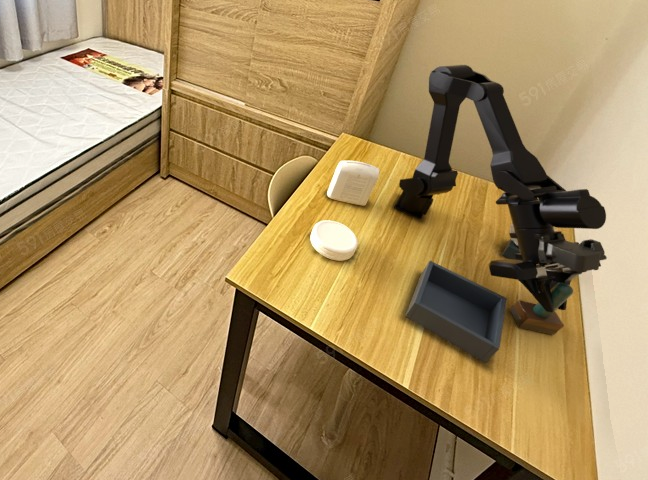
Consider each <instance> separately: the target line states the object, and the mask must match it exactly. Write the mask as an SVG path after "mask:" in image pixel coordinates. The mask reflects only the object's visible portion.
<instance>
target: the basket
mask: <svg viewBox="0 0 648 480" xmlns="http://www.w3.org/2000/svg"><path fill="white" fill-rule="evenodd" d="M507 300H508V298H507V297H506V296H504V295H501V294H499V293H497V292H495V291H494V290H492V289H489V288H488V287H485V286H483V285H481V284H479V283H477V282H475V281H473V280H471V279H469V278H467V277H465V276H463V275H460V274H458V273H457V272H454V271H452V270H450V269H449V268H446V267H444V266H442V265H440V264H438V263H436V262H434V261H432V260H429V261H428V263H427V264H426V265H425V267H424V269H423V270H422V272H421V273H420V276H419V278H418V281H417V283H416V287H415V289H414V291H413V295H412V297H411V299H410V303H409V306H408V307H407V310H406V313H405V316H404V317H405V318H407V319H409V320H411V321H412V322H414V323H415V324H417V325H419V326H421V327H422V328H424V329H425V330H428V331H429V332H431V333H433V334H434V335H436V336H438V337H440V338H441V339H443V340H445V341H447V342H448V343H450V344H451V345H454V346H456V347H457V348H459V349H460V350H463V351H464V352H466V353H468V354H469V355H471V356H473V357H474V358H476V359H478V360H480V361H481V362H483V363H485V364H486V363H487V362H489V360H490V359H491V358H492V357H493V356H494V355H495V354H496V353H497V352H498V351H499V350H500V347H501V346H500V345H501V341H502V334H503V327H504V319H505V314H506V306H507Z"/></svg>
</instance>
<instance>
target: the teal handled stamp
mask: <svg viewBox="0 0 648 480" xmlns="http://www.w3.org/2000/svg"><path fill="white" fill-rule="evenodd" d="M573 294H574V288H573V287H572V285H571V284H570V285H568V284H566V283H557V284H556V285H555V286H554V287H553V288H552V289H551V296H552V301H553V308H554V312H547V311H546V310H545V309H544V308H543V307H542V306H541V305H540V303H539V302H538V301H537V303H534V302H528V301H524V300H519V299H518V300H516V301H515V303H514V304H513V305H512V306H511V308H509V311H510V313H511V315H512V318H513V319H514V321H515V323H516V325H517V327H518V328H520V329H525V330H530V331H532V332H533V331H534V332H539V333H542V334H543V333H544V334H548V335H553V336H554V335H556V334H557V333H558V332H559V331H560V330H561V329H562V328H564V327H565V325H564V323H563V322H562V320H561V319H560V317H559V315H558V314H557V312H556V311H557V310H558V307H559V306H561V305H562V304H563V303H564V302H565V301H566V300H567V301H568V299H569V298H570V297H571V296H572V295H573Z"/></svg>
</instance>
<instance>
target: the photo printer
mask: <svg viewBox="0 0 648 480" xmlns="http://www.w3.org/2000/svg"><path fill="white" fill-rule="evenodd" d="M379 177H380V168H378V167H377V166H375V165H372V164H369V163H366V162H363V161H357V160H340V161H339V162H338V164H337V165H336V168H335V170H334V174H333V176H332V178H331V180H330V183H329V187H328V188H327V191H326V195H327V197H328V198H329V199H331V200H335V201H339V202H343V203H348V204H352V205H357V206H363V207H364V206H367V203H368V201H369V199H370V197H371V195H372V193H373V191H374V188H375V186H376V184H377V182H378V180H379Z"/></svg>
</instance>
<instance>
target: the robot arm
mask: <svg viewBox="0 0 648 480" xmlns="http://www.w3.org/2000/svg"><path fill="white" fill-rule="evenodd" d="M504 92H505V89H504V87H503V85H502V84H500V83H498V82H496V81H493V80H491V79H490V78H489V77H488V76H487V75H486V74H484V73H480V72H478V71H475V70H473V68H472V67H471V66H470V65H467V64H454V65H442V66H441V65H439V66H437V67H436V68H434V69H433V70H431V71H430V73H429V76H428V93H429V95H430V98H431V99H432V101H433V107H432V113H431V118H430V124H429V130H428V136H427V140H426V147H425V152H424V157H423V159H422V161H420V163H419V164H418V165H417V166H416V168H415V169H414V171H413V174H412V177H409V178H400V179H399V184H398V187H399V188H400V189H401V190H402V192H401V194H399V196H398V199H397V200H396V203H395V205H394V206H393V208H394V209H395V210H397V211H400V212H402V213H404V214H405V215H408V216H411V217H413V218H415V219H418V220H422V218H423V216H426V215H427V213H428V212H429V210H430V208H431V206H432V205H433V202H434V198H433V196H436V195H438V196H439V195H441V194H447V193H450V192H451V191H452V190H453V189H454V187H457V182H456V181H457V177H458V175H459V172H458V170H455V169H453V167H452V166H451V163H450V157H451V153H452V152H451V151H452V147H453V143H454V137H455V132H456V129H457V128H456V127H457V122H458V118H459V113H460V108H461V104H462V103H463V102H464V101H465V100H466V99H468V100H470V101H473V104H474V106H475V109H476V111H477V115H478V118H479V120H480V123H481V125H482V127H483V130H484V133H485V135H486V139H487V141H488V143H489V146H490V149H491V153H492V156H491V157H492V158H491V161H490V171H491V177H492V181H493V183H494V185H495V187H496V189H498V190H500V191H502V192H503V193H502V194H501V196H499V198H498V199H497V200H495V204H496V205H498V206H500V205H502V206H503V205H507V207H508V211H509V215H510V220H511V224H512V223H513V227H514V231H515V232H512V233H510V232H509V233H508V234H509V238H510V239H511V238H517V242H518V246H519V250H520V253H517V254H515V257H516V259H520V260H514V259H508V258H502V259H495V260H491V261H490V262H489V263H488V269H489V273H490V276H492V277H498V278H504V279H511V280H516V281H519V282H520V283H521V285H523V287H524V288H525V289H526V290H527V291H528V292H529V293H530V294H531V295H532V297H533V298H534V299H535V301H536V302H537V303H538V302H539V303H540V305H541V306H542V307H543V308H544V309H545V310H546V311H547V312H554V308H553V301H552V296H551V289H552V288H553V287H554V286H555V285H556V284H557V283H566V284H568V285H570V286H571V282H572V280H574V279H575V278H576V277H578V276H579V275H581V274H583V273H587V272H588V271H599V267H602V265H601V264H602V263H601V261H605V260H607V258H608V257H607V255H606V254H605V252H606V251H605V249H604V247H603V244H602V243H601V241H598V240H595V239H592V238H590V239H583V240H582V241H581V242H578V241H574V242H572V241H568V240H567V239H566V237H565V234H564V233H562V231H561V230H555V228H556V229H557V228H558V229H583V230H585V229H586V230H598V229H601V228H603V227H604V225H605V223H606V222H607V221H606V220H607V211H606V209H605V206H603V205H602V204H601V202H600V201H599V200H598V199H597V198H595V197H594V196H592V195H591V194H590V191H589V189H588V188H579V189H573V190H567V189H565V188H564V187H562V185H560V184H559V183H558V182H556V180H554V179H553V178H552V177H550V176H549V175H548V174H547V171H546V169H544V167H543V166H542V164H541V162H540V161H539V159H538V157H536V155H534V154H533V153H532V152H531V151H529V150H528V149H527V148H526V146H525V145H524V143H523V141H522V138H521V135H520V133H519V130H518V128H517V126H516V123H515V121H514V117H513V115H512V113H511V111H510V109H509V106H508V103H507V101H506V97H505V95H504ZM554 230H555V231H554ZM567 303H568V299H567V300H566V301H565V302H564V303H563V304H562V305H561V306H559V307H558V308H557V310H560V311H566V309H567Z"/></svg>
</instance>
